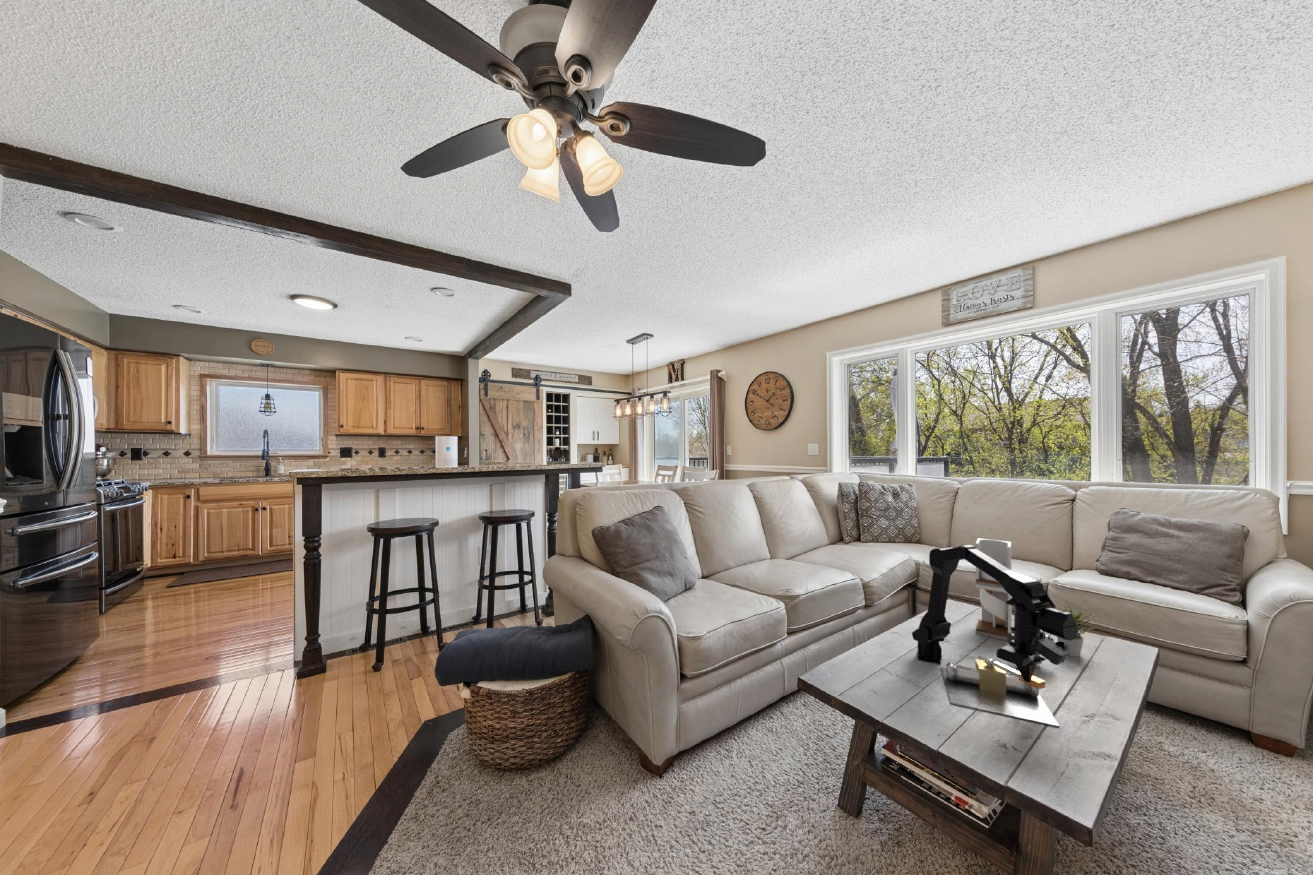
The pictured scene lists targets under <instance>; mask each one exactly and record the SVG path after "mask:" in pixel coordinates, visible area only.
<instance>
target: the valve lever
mask: <svg viewBox="0 0 1313 875" xmlns="http://www.w3.org/2000/svg"><path fill="white" fill-rule="evenodd" d="M983 661H984V662H985V663H986V664H989V665H993V666H995V667H997V668H1000V669H1002V670H1004V671H1005V672H1006V673H1007V674H1009V675H1013V676H1016V677H1019V680H1020V681H1022V682H1024V683H1026V684H1028V685H1031V686H1033V687H1035V688H1037V689H1039V690H1041V689H1045V688H1046V680H1043V679H1041V678H1039V677H1038V676H1035V675H1034V674H1033V675H1032V678H1031V680H1030V682H1029V683H1028V682H1026V681H1024V679H1023V677H1022V675H1021V674H1020V672H1019V670H1018V669H1017V670H1016V669H1015V668H1012V667H1010V666H1008V665H1006V664H1004V663H1001V661H1000V662H999V661H997V660H996V659H995V658H993V657H990V656H985V657H984V660H983Z"/></svg>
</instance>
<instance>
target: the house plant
mask: <svg viewBox="0 0 1313 875" xmlns="http://www.w3.org/2000/svg"><path fill="white" fill-rule="evenodd" d="M1067 607H1068V608H1067ZM1067 607H1066V606H1062V611H1063V612H1068V613H1071V614H1072V618H1073V619H1074V620H1075V621H1076V624H1077V626H1078V632H1077V635H1076V637H1075V638H1074V639H1073V640H1071V641H1068V640H1065V639H1063V638H1060V637H1057V636H1056V637H1057V642H1058V641H1061V640H1062V641H1064V642H1066V643H1067V644H1068V650H1069V651H1070V652H1069V654H1070V656H1069V657H1078V658H1079V657H1080V656H1081V654H1082V648H1083V644H1084V639H1085V638H1084V637H1083V636H1082V635H1085V633H1086V631H1088V630H1091V631H1092V632H1093V631H1094V630H1093V627H1087V626H1084V625H1085V624H1087V623H1089V622H1094V620H1092V619H1091V620H1090V619H1088V618H1092V617H1095V615H1090V614H1089V615H1087V616H1084V617H1083V618H1081V617H1082V615H1084V612H1085V609H1084V610H1081V611H1079V612H1078V613H1077V615H1076V614H1075V613H1073V610H1072V608H1071V607H1070V606H1069V605H1067ZM1099 617H1100V618H1101V616H1099ZM1083 621H1084V622H1083ZM1081 622H1083V623H1082V624H1081V625H1080V623H1081ZM1079 625H1080V626H1079ZM1083 629H1084V630H1083ZM1094 629H1096V630H1097V629H1098V628H1097V627H1094Z"/></svg>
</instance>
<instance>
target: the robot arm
mask: <svg viewBox="0 0 1313 875" xmlns="http://www.w3.org/2000/svg"><path fill="white" fill-rule="evenodd" d="M928 556H929V557H928V558H929V559H928V560H929V561H928V562H929V566H930V568H931V571H932V578H931V586H930V590H929V591H930V592H929V599H928V605H927V611H926V613H925V614H924V615H923V616H922V617H921V620H920V622H919V624H918V625H919V626H918V628H916V629H915V630H914V631H912V632H911V636H912V639H913V640H915V641H916V642H917V651H916V655H917V660H918V661H922V662H928V663H932V664H936V665H937V664H938V665H940V664H941V661H942V656H943V655H942V652H943V651H942V646H941V645H940V643H941V642H944V641H945V638H947V637H948V635H951V631H950V630H951V626H952V622H950V621H948V620H947V618H946V616H945V614H946V609H947V608H946V607H947V601H948V595H949V589H950V588H949V587H950V582H951V576H952V575H953V573H954V572H955V571H956V570H957V568H958V566H959V564H960V563H959V562H960V561H961V560H965V561H967V562H968V563H970V564H971V565H973V566H974V567H975V568H976V567H977V568H978V569H980V570H981V571H983V572H985V573H986V574H988V575H989V576H991V577H992V578H994V579H995V580H997V581H998V582H999V583H1000V584H1001V585H1002V586H1003V588H1004V590H1005V591H1006V592H1007V593H1008V594H1010V595H1011V596H1012V598H1011V599H1010V600H1008V601H1006V604H1009V605H1012V606H1013V609H1014V610H1013V612H1014V613H1013V615H1014V616H1013V618H1014V619H1013V625H1012V626H1011V630H1012V631H1014V640H1013V641H1011V645H1013V646H1016V649H1015V648H1013V647H1011V646H1010V645H1004V646H1002V647H1000V648H997V649H996V658H997V659H1000V660H1002V661H1004V662H1008V663H1011V664H1013V665H1015V666H1016V668H1017V671H1019V672H1020V674H1021V675H1022V677H1023V679H1024V681H1026V682H1028V683H1029V682H1030V680H1031V678H1032V675H1033V676H1034V673H1035V670H1036V668H1037V667H1036V666H1037V664H1038V663H1040V662H1042V663H1043V662H1044V661H1047V660H1048V661H1049V663H1051V664H1053V665H1055V666H1059V665H1060V664H1064V663H1065V661H1066V660H1067V657H1071V656H1070V654H1069V652H1070V651H1069V650H1068V644H1067V643H1066V642H1064V641H1062V640H1061V641H1058V640H1057V641H1056V642H1055V640H1054V639H1053V640H1054V641H1053V640H1052V641H1050V640H1048V639H1046V634H1048V635H1049V634H1050V635H1052V636H1055V637H1060V638H1063V639H1065V640H1068V641H1071V640H1073V639H1074V638H1075V637H1076V635H1077V632H1078V631H1079V630H1078V628H1079V625H1078V626H1077V624H1076V621H1075V620H1074V619H1073V618H1072V614H1071V613H1068V612H1069V611H1068V612H1063V610H1059V609H1057V608H1056V605H1055V603H1054V602H1053V600H1052V599H1051V598H1050V596H1049V595H1048V593H1047V592H1046V591H1045V587H1044V585H1043V583H1041V581H1039V580H1037V579H1036V578H1033V577H1030V576H1028V575H1026V574H1023V573H1020V572H1016V571H1013V570H1012V569H1011V570H1010V569H1008V568H1006V567H1005V566H1003V565H1002V564H1000V563H998V562H997V561H995V560H994V559H992V558H990V557H989V556H987V555H986V554H984V553H982V552H981V551H979V550H978V549H977V548H976V545H972V544H965V545H959V546H956V547H951V546H948V547H946V546H945V547H939V548H938V547H937V548H932V549H930V551H929V555H928ZM1037 601H1039V602H1037ZM1045 633H1046V634H1045ZM1078 633H1079V632H1078Z"/></svg>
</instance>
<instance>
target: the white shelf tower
mask: <svg viewBox="0 0 1313 875" xmlns="http://www.w3.org/2000/svg"><path fill="white" fill-rule="evenodd" d="M975 547H976V548H977V549H978V550H979V551H981V552H982V553H984V554H986V555H987V556H989V557H990V558H992V559H994V560H995V561H997V562H998V563H1000V564H1002V565H1003V566H1005V567H1006V568H1008V569H1010V570H1011V571H1012V541H1007V540H999V539H998V540H997V539H989V538H981V537H979V538H977V539H976V541H975ZM975 588H976V589H979V602H980V604H981V619H980V618H978V619H977V623H976V628H975V633H976V635H980V636H986V637H989V638H995V639H999V640H1003V641H1007V635H1008V633H1011V626H1013V619H1012V618H1013V613H1012V612H1013V611H1012V610H1013V608H1012V605H1009V604H1006V601H1008V600H1010V599H1011V598H1012V596H1011V595H1010V594H1008V593H1007V592H1006V591H1005V590H1004V588H1003V586H1002V585H1001V584H1000V583H999V582H998V581H997V580H995V579H994V578H992V577H991V576H989V575H988V574H986V573H985V572H983V571H981V570H980V569H978V568H977V567H975Z"/></svg>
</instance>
